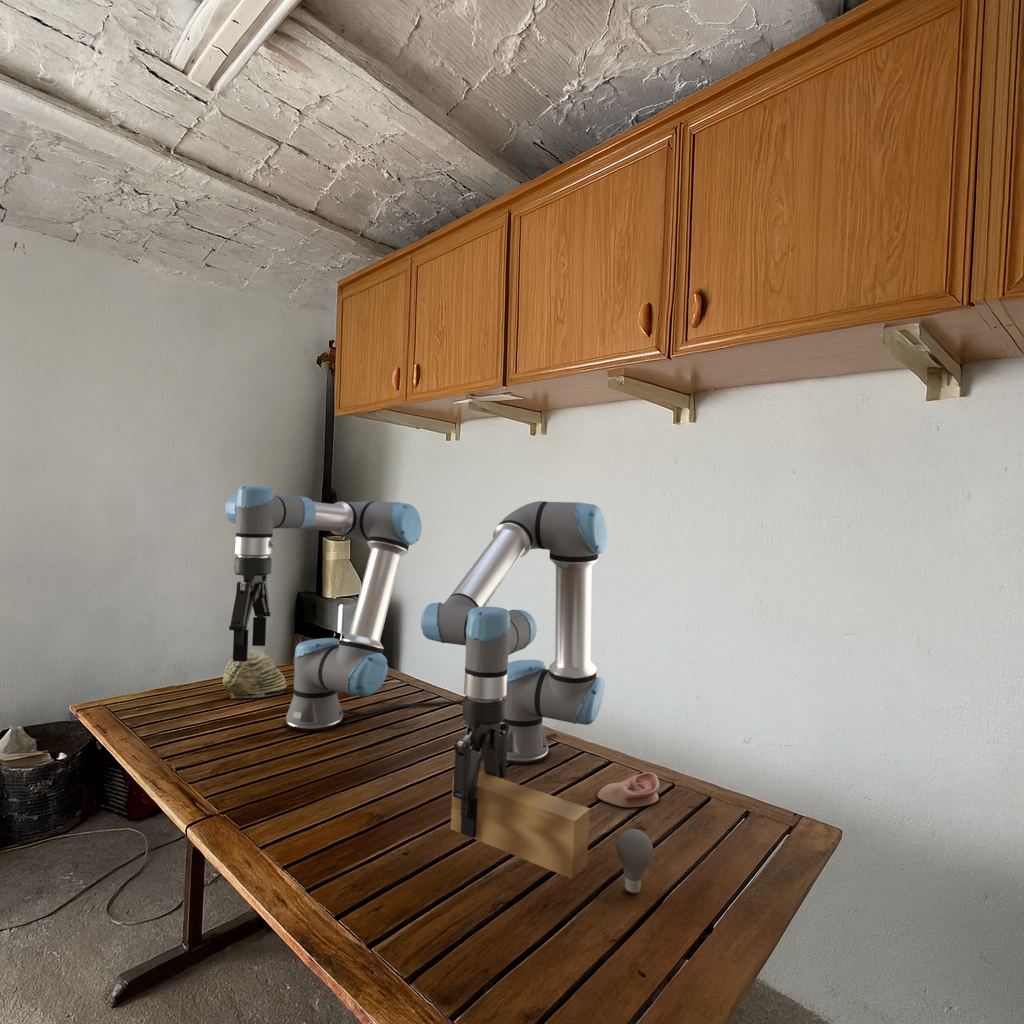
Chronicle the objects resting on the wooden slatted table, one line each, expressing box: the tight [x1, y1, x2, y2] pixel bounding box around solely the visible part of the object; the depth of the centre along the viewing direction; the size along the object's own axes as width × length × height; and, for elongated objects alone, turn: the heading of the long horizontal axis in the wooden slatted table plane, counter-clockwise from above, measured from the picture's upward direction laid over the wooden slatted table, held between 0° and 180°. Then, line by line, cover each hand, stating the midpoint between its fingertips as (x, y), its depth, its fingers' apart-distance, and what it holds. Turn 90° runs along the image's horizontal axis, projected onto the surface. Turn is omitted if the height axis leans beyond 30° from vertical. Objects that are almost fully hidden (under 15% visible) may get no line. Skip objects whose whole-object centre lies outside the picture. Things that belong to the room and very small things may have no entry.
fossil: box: [222, 647, 288, 699], centre depth 198 cm, size 9×18×15 cm, turn 132°
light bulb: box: [615, 828, 654, 894], centre depth 106 cm, size 6×6×10 cm
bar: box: [450, 770, 591, 880], centre depth 107 cm, size 24×5×9 cm, turn 57°
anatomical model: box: [596, 771, 660, 808], centre depth 140 cm, size 13×4×12 cm
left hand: (249, 653), depth 139 cm, fingers open, 13 cm apart
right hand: (478, 827), depth 111 cm, fingers closed on bar, 5 cm apart
